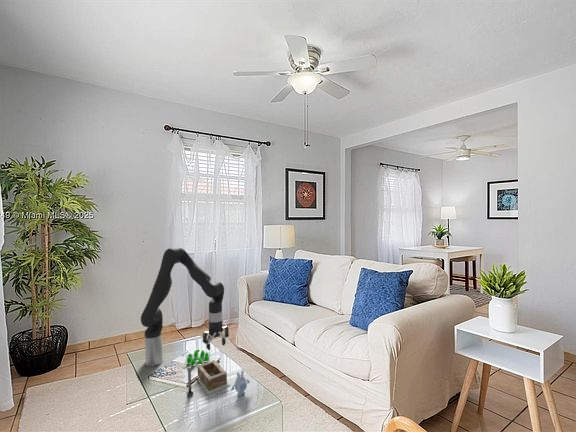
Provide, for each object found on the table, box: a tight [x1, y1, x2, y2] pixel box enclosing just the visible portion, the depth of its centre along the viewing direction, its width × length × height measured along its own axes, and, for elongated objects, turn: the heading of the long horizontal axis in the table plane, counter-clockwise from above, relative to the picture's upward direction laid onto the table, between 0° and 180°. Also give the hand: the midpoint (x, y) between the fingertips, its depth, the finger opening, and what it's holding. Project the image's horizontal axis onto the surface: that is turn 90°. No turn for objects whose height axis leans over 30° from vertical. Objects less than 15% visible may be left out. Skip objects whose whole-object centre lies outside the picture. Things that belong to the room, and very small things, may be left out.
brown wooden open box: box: [197, 359, 228, 391], centre depth 171 cm, size 16×10×6 cm, turn 36°
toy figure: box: [231, 370, 251, 397], centre depth 160 cm, size 11×6×12 cm, turn 127°
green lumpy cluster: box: [185, 349, 211, 367], centre depth 191 cm, size 15×15×7 cm
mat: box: [197, 373, 230, 395], centre depth 171 cm, size 18×12×1 cm, turn 36°
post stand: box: [186, 366, 194, 398], centre depth 159 cm, size 3×3×14 cm
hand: (216, 347), depth 174 cm, fingers open, 8 cm apart
